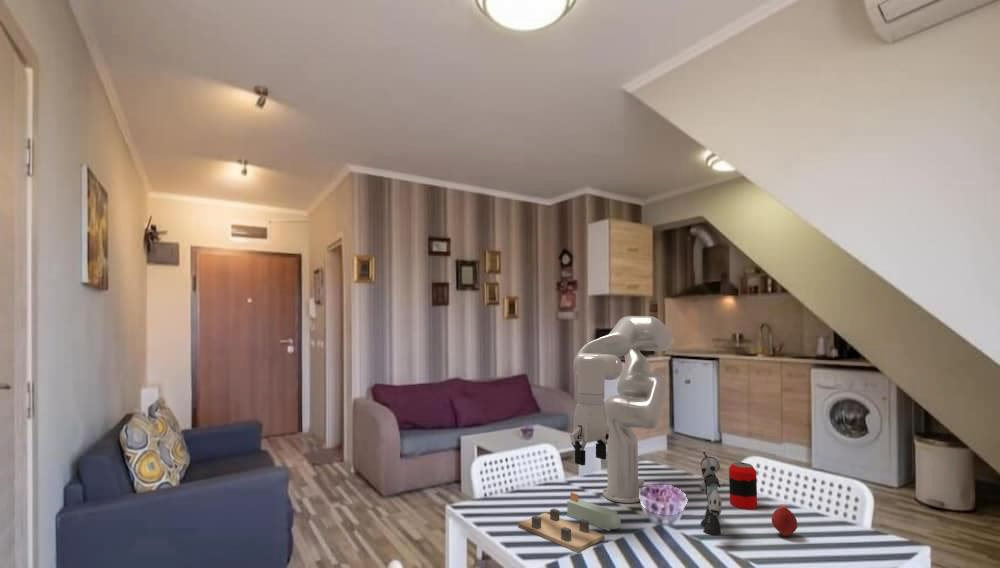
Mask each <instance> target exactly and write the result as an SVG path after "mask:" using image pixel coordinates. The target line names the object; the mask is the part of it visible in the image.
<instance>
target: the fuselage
mask: <svg viewBox="0 0 1000 568" xmlns="http://www.w3.org/2000/svg"><path fill="white" fill-rule="evenodd" d="M566 504H567V508H566V509H567V512H566V513H567V517H570V518H572V519H575V520H578V521H579V520H582V519H584V520H587V521H589V525H592V526H594V527H597V528H599V529H603V530H606V531H608V532H610V531H611V530H617V529H619V528H620V526H621V523H622V522H621V518H620V516H619V515H618V511H617V510H615V509H614V510H613V509H610V508H608V507H604V506H601V505H600V504H599V505H598V504H595V503H592V502H589V501H586V500H582V499H580V498H579V494H578V493H575V492H572V491H570V500H568V501H567V503H566Z"/></svg>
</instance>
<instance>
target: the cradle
mask: <svg viewBox="0 0 1000 568" xmlns="http://www.w3.org/2000/svg"><path fill="white" fill-rule="evenodd" d="M578 521H579V524H576V523H574V522H571V521H568V520H566V519H563V518H561V517H560V510H559V509H557V508H551V509H550V513H547V512H543V513H541V514H538V515H534V516H532V517H530V518H528V519H525V520H523V521H520V522H518V524H517V525H518V526H517V527H518V528H520V529H522V530H525V531H527V532H529V533H532V534H534V535H536V536H539V537H540V538H544V539H545V540H548V541H550V542H553V543H555V544H557V545H559V546H563V548H564V547H565V548H567V549H569V550H571V551H574V552H575V553H579V552H581V551H584V550H585V549H588V548H590V547H591V546H593V545H596V544H597V543H599V542H601V541H603V540H605V534H603V533H600V532H597V531H595V530H593V529H590V524H589V521H587V520H584V519H582V520H578Z"/></svg>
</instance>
